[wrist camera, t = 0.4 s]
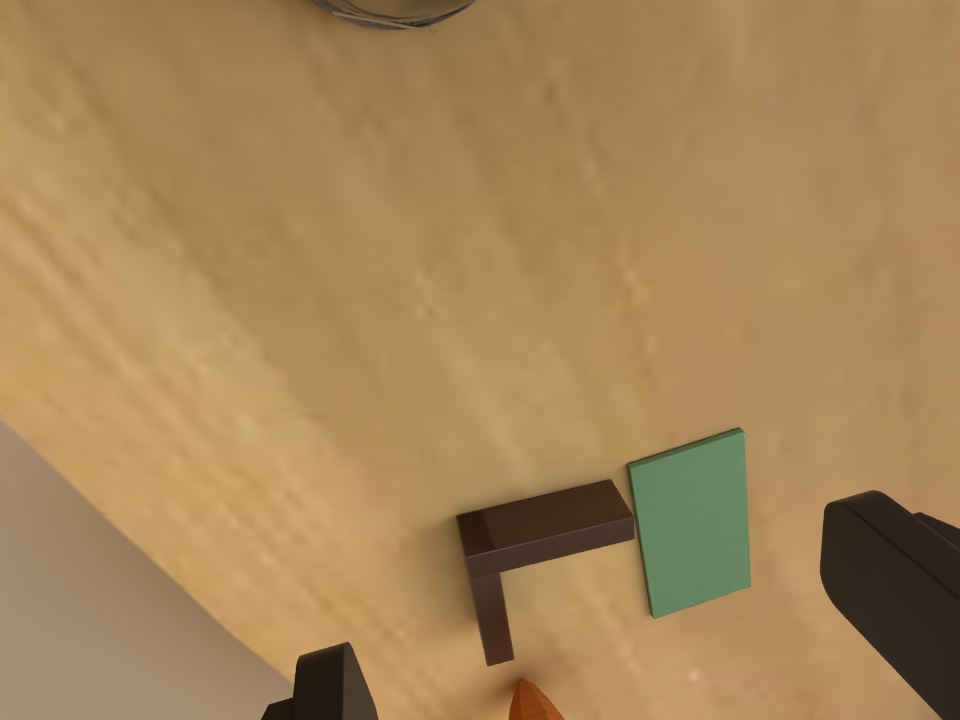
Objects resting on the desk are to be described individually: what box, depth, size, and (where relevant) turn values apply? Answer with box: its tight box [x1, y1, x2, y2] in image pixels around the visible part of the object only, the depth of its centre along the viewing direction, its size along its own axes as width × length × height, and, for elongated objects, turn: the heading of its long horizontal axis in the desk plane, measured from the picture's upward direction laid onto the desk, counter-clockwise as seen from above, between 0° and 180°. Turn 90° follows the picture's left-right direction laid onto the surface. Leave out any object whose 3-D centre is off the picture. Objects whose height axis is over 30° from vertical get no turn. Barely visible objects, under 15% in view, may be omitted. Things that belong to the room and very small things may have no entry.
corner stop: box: [456, 480, 634, 666], centre depth 32 cm, size 8×8×3 cm
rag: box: [627, 428, 751, 619], centre depth 34 cm, size 12×6×1 cm, turn 14°
